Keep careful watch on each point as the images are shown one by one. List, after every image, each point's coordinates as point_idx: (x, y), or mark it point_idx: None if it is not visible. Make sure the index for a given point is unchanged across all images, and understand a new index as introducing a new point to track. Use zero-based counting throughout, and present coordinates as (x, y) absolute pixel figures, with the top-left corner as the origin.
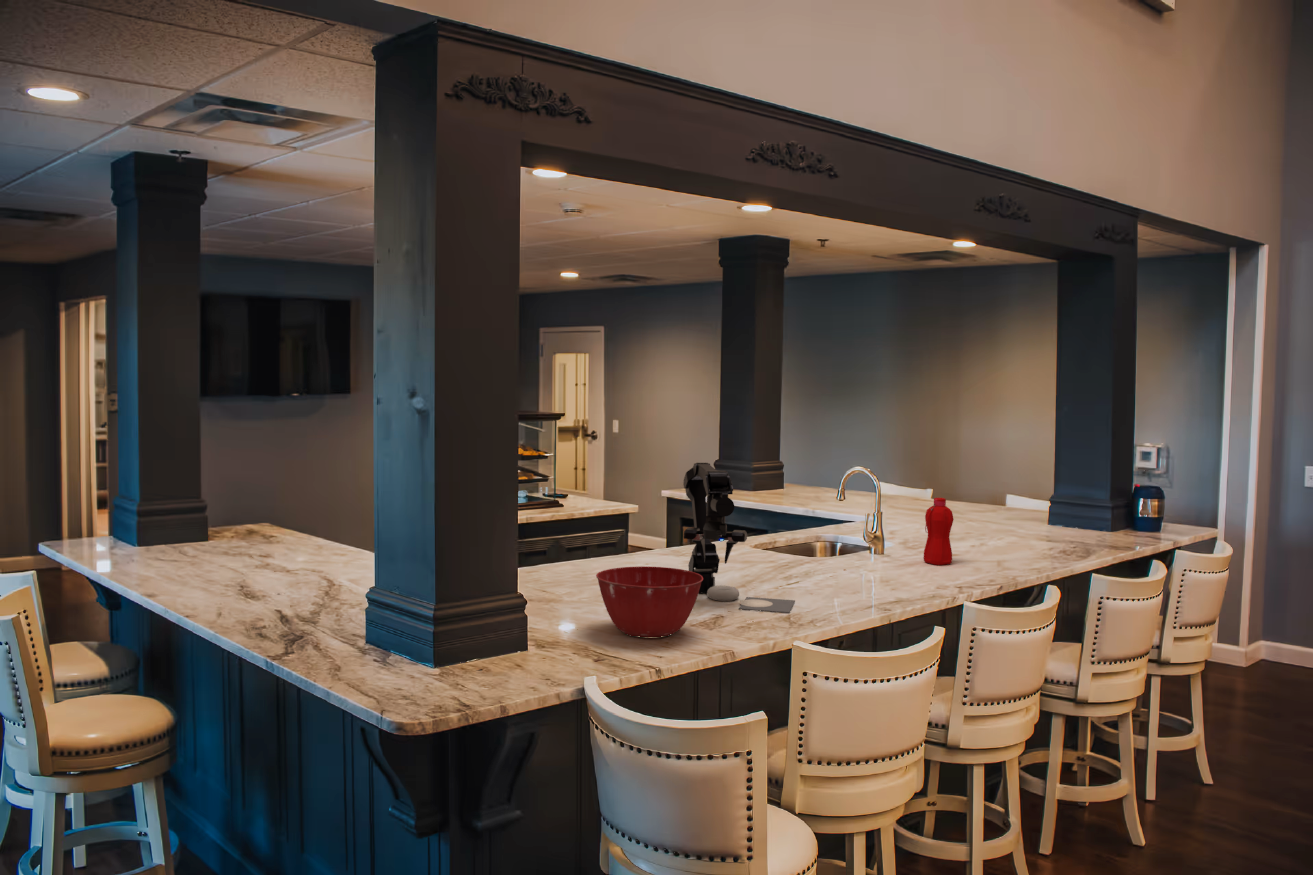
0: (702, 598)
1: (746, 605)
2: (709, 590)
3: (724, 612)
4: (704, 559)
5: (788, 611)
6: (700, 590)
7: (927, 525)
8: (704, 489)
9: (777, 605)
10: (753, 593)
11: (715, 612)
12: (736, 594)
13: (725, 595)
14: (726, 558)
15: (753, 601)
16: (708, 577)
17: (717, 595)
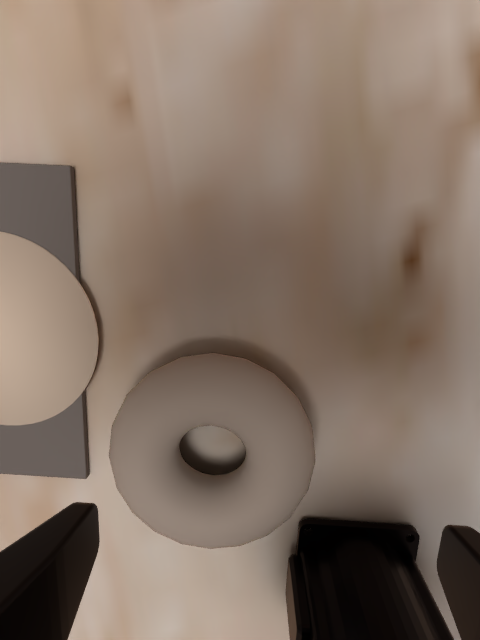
0: (334, 408)
1: (37, 252)
2: (299, 424)
3: (147, 54)
4: (468, 568)
5: None
6: (363, 538)
7: None
8: None
9: None
10: None
11: (206, 34)
12: (118, 413)
13: (181, 361)
14: (8, 559)
15: (22, 370)
16: (334, 629)
17: (235, 361)
